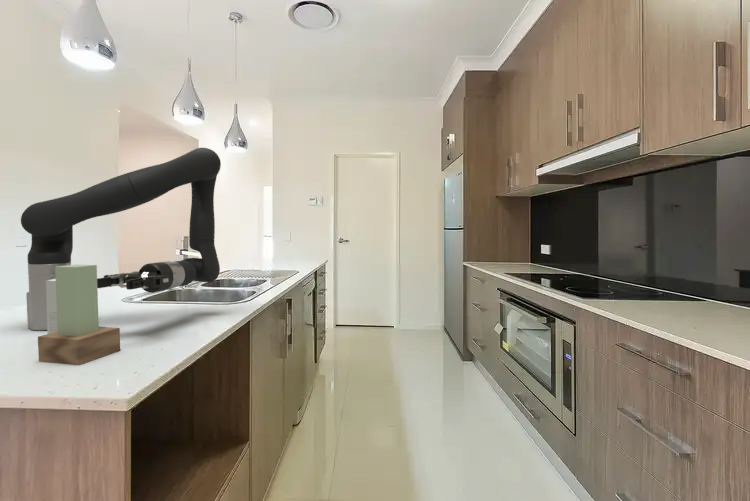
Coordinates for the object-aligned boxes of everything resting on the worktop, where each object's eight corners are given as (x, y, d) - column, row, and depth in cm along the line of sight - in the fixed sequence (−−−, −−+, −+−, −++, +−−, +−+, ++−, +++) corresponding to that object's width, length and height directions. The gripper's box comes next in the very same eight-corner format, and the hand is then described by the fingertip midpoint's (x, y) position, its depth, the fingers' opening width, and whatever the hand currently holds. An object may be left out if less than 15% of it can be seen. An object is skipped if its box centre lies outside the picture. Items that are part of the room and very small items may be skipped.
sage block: (57, 334, 88) (55, 266, 87) (79, 329, 93) (77, 264, 92) (77, 336, 87) (75, 267, 86) (98, 330, 91) (96, 265, 91)
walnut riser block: (38, 361, 86) (37, 336, 86) (82, 347, 96) (81, 325, 96) (79, 364, 84) (78, 339, 84) (120, 350, 94) (119, 328, 94)
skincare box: (68, 333, 108) (66, 275, 107) (93, 333, 109) (91, 275, 108) (46, 342, 100) (43, 279, 99) (73, 342, 100) (71, 279, 100)
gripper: (139, 261, 115) (85, 267, 99) (185, 262, 112) (137, 268, 96) (140, 289, 115) (86, 299, 99) (186, 291, 112) (138, 302, 96)
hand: (111, 284), depth 98 cm, fingers open, 8 cm apart
